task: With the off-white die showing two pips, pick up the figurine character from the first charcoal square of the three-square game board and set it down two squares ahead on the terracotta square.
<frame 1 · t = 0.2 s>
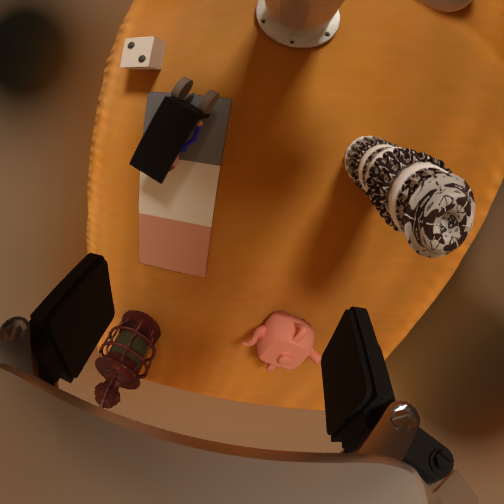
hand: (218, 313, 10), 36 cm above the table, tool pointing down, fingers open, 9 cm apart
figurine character: (183, 126, 40), resting on game board
decorative candle: (368, 160, 40), on the table
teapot: (284, 324, 59), on the table
lantern: (141, 325, 64), on the table
die: (150, 55, 34), on the table
game board: (176, 190, 46), on the table
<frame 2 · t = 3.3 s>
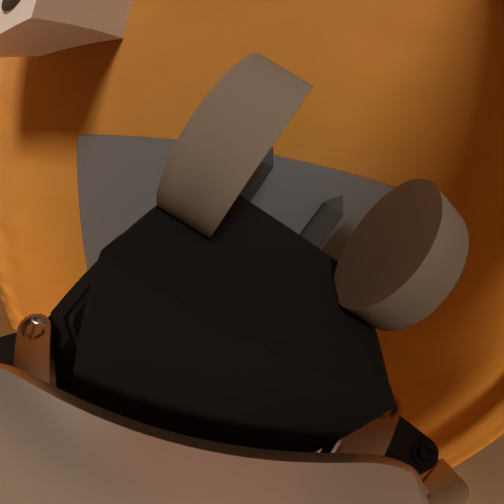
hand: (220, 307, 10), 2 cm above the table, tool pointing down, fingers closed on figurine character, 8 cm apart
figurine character: (223, 281, 12), resting on game board, touching gripper
game board: (210, 404, 17), on the table
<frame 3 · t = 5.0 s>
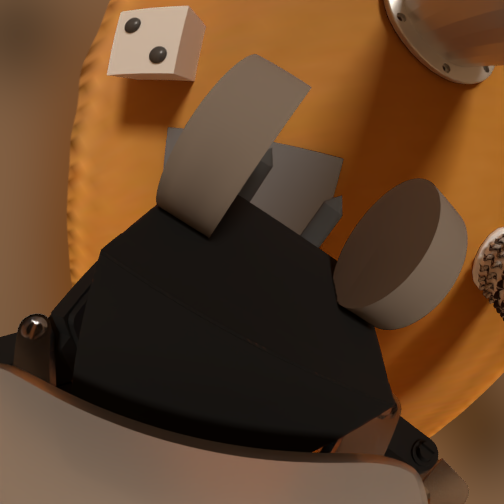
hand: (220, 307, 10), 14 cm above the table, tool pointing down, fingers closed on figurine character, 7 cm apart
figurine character: (223, 281, 12), point 12 cm above the table, touching gripper
decorative candle: (495, 257, 23), on the table
die: (170, 52, 17), on the table
game board: (226, 307, 28), on the table
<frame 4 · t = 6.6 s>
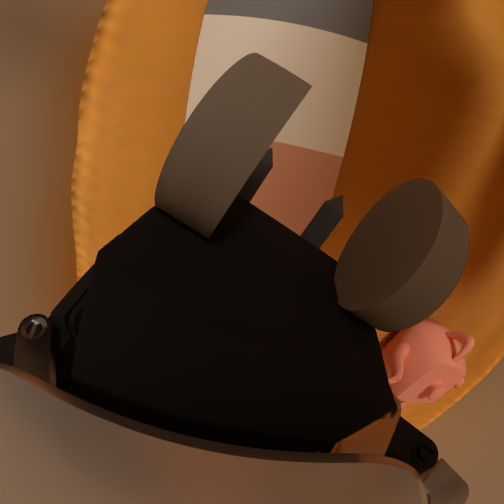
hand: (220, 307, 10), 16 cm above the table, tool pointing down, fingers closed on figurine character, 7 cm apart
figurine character: (223, 282, 12), point 15 cm above the table, touching gripper
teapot: (413, 336, 32), on the table
game board: (275, 78, 20), on the table
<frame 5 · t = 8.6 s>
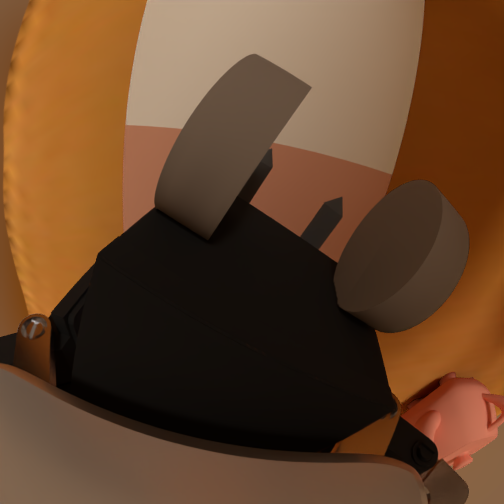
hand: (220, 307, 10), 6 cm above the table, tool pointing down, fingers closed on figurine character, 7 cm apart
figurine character: (223, 282, 12), point 4 cm above the table, touching gripper
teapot: (441, 392, 23), on the table
game board: (278, 35, 10), on the table
when the fingers open (3 cm above the table, at t = 10.3 s): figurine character drops 1 cm, resting on game board.
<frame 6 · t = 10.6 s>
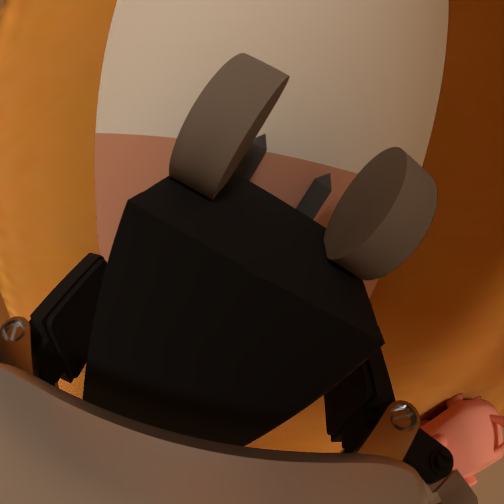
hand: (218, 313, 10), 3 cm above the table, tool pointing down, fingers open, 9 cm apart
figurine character: (228, 259, 13), resting on game board
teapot: (447, 411, 20), on the table
game board: (277, 19, 8), on the table
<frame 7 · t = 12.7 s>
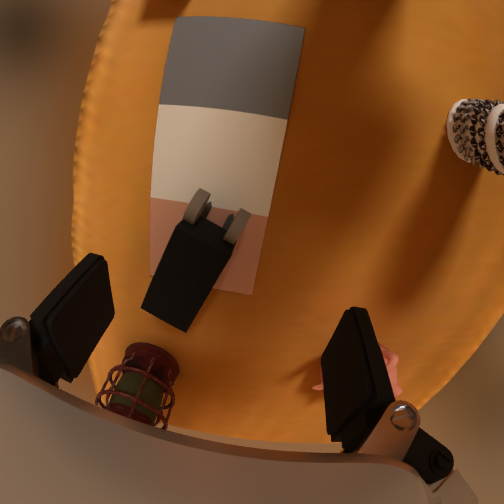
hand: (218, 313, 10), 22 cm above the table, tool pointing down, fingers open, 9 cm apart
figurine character: (201, 244, 34), resting on game board
decorative candle: (469, 130, 24), on the table
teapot: (353, 351, 41), on the table
lantern: (152, 361, 45), on the table
game board: (213, 158, 29), on the table
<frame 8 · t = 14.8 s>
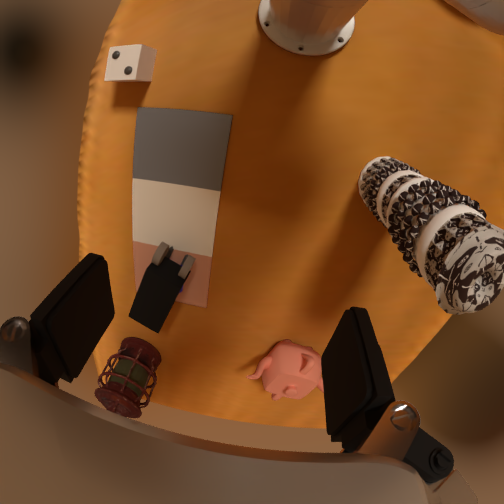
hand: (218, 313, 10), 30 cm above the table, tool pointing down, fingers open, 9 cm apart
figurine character: (169, 273, 47), resting on game board
decorative candle: (384, 183, 36), on the table
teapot: (290, 352, 55), on the table
lantern: (141, 351, 60), on the table
die: (139, 65, 31), on the table
game board: (172, 217, 42), on the table
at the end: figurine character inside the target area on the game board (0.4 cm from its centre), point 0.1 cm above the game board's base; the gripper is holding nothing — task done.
